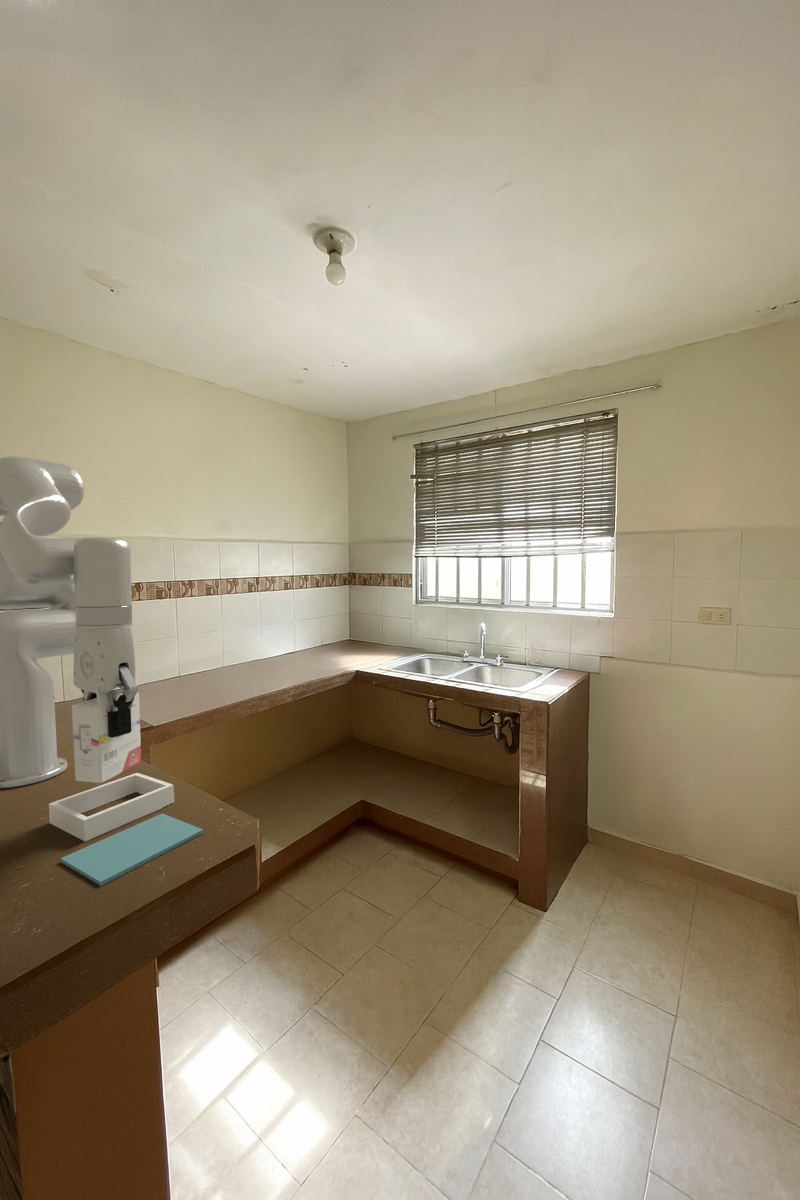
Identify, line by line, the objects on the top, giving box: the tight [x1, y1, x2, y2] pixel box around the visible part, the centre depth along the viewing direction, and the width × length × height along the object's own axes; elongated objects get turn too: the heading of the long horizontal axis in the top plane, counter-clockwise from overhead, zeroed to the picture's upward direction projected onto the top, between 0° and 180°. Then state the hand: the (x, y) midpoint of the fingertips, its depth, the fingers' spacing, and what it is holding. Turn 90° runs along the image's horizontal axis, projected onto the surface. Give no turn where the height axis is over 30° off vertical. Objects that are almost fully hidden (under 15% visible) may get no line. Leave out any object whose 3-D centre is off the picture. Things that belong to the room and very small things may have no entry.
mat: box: [60, 813, 204, 887], centre depth 66 cm, size 10×14×1 cm
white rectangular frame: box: [48, 772, 175, 842], centre depth 77 cm, size 11×14×3 cm
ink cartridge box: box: [71, 675, 142, 784], centre depth 77 cm, size 9×5×15 cm, turn 168°
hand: (107, 730), depth 77 cm, fingers closed on ink cartridge box, 6 cm apart
